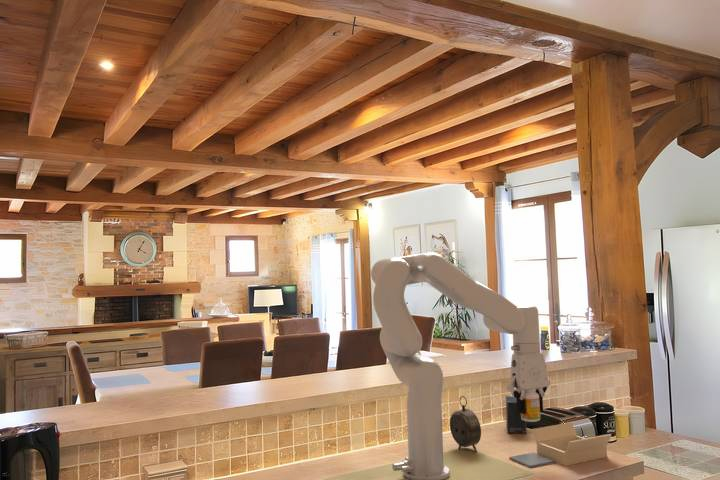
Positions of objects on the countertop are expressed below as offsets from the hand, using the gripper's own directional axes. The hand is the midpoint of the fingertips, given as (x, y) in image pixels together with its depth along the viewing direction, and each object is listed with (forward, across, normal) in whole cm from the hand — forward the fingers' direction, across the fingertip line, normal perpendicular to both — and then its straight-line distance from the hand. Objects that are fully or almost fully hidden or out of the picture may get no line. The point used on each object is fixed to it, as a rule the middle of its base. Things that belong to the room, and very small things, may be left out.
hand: (530, 411), depth 170 cm
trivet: (+14, 0, 0) cm, 14 cm away
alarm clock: (+14, -10, +19) cm, 26 cm away
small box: (+14, +18, +29) cm, 37 cm away
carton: (+14, +13, -2) cm, 19 cm away
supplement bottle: (+3, 0, 0) cm, 3 cm away
